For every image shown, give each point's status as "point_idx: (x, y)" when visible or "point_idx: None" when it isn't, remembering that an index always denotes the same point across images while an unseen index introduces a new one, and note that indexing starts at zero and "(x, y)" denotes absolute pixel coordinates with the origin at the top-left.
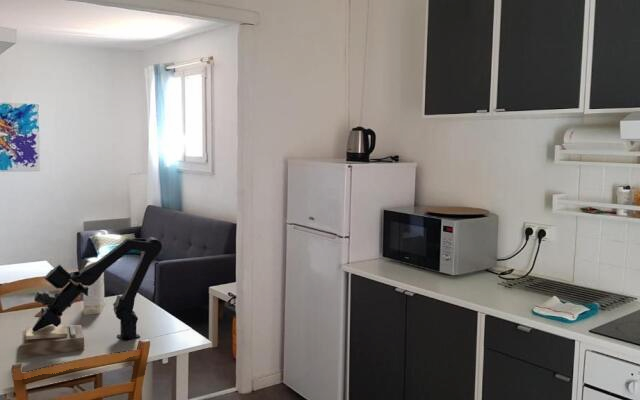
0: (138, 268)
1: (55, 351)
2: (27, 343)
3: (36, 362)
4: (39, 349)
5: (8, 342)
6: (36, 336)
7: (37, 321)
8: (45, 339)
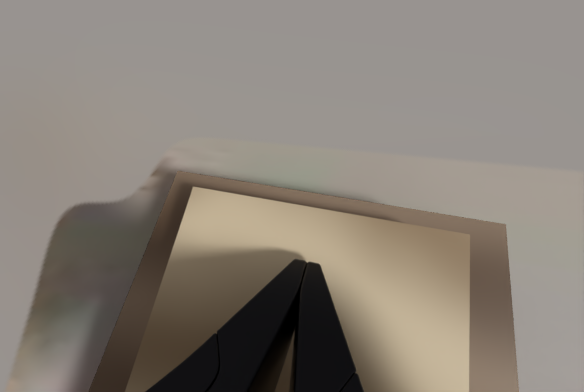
0: None
1: None
2: (179, 206)
3: (110, 244)
4: None
5: (500, 177)
6: (171, 271)
7: (300, 347)
8: None
